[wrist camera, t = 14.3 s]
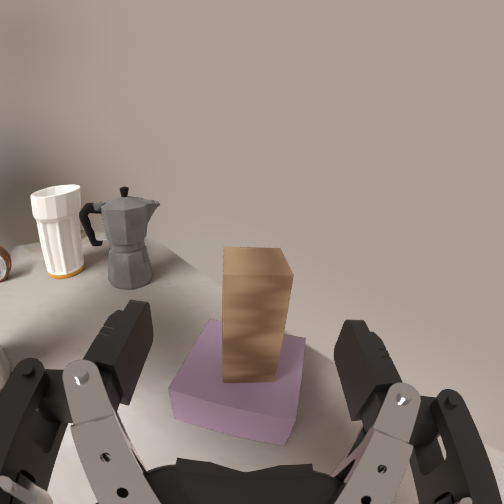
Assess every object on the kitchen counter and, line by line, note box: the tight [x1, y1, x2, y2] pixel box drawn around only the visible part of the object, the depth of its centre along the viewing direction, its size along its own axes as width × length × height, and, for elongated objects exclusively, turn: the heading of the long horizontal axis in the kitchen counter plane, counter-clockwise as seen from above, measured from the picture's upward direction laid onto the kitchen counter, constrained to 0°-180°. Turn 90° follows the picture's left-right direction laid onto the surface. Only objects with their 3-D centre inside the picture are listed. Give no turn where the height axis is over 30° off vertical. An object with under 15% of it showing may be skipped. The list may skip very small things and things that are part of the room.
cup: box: [31, 185, 84, 279], centre depth 46 cm, size 11×11×17 cm
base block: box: [168, 319, 306, 446], centre depth 28 cm, size 12×12×6 cm
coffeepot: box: [79, 187, 160, 289], centre depth 46 cm, size 15×9×18 cm, turn 115°
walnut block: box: [222, 247, 294, 383], centre depth 24 cm, size 5×5×12 cm
